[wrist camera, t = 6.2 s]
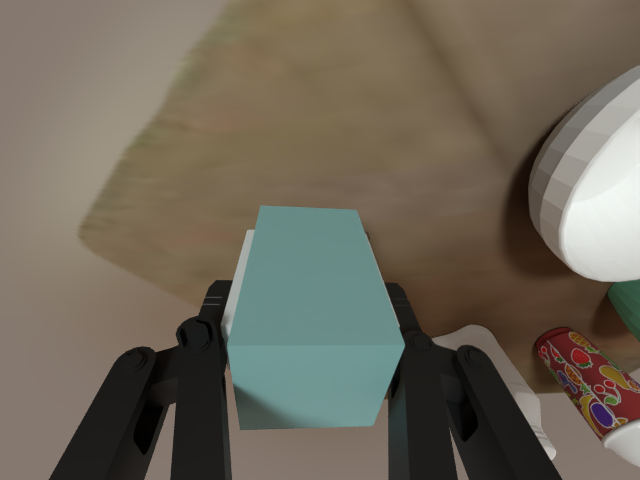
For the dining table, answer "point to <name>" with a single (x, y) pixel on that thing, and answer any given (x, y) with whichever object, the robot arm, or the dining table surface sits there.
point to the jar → (501, 374)
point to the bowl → (593, 184)
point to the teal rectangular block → (311, 324)
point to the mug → (627, 303)
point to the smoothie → (596, 389)
